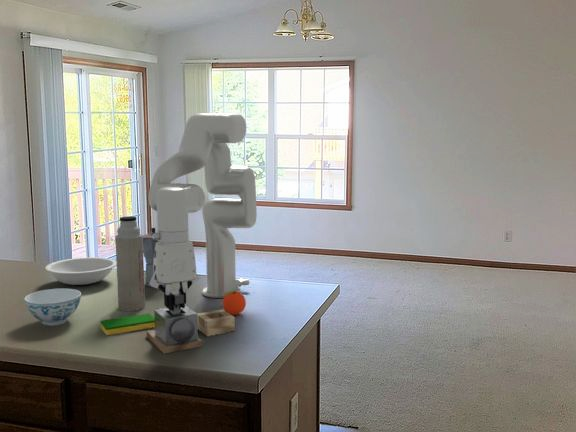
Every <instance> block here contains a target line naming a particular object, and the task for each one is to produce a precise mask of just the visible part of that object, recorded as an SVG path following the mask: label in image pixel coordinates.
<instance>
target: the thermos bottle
mask: <svg viewBox="0 0 576 432" xmlns="http://www.w3.org/2000/svg"><path fill="white" fill-rule="evenodd" d="M119 221H120V222H119V223H120V224H119V227H117V230H116V232H117V234H116V235H115V257H116V258H115V261H116V263H117V265H116V277H117V280H116V281H117V302H118V304H117V305H118V309H119V310H121V311H125V312H126V311H131V312H132V311H138V310H142V309H145V307H146V294H145V292H146V291H145V269H144V268H145V265H144V253H143V236H142V235H143V234H142V233H141V227H139V226H138V225H137V224H138V223H137V217H136V216H121V217H119Z"/></svg>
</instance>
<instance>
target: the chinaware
mask: <svg viewBox="0 0 576 432" xmlns="http://www.w3.org/2000/svg"><path fill="white" fill-rule="evenodd" d="M81 297H82V293H81V291H80V290H78V289H74V288H52V289H51V288H50V289H43V290H37V291H34V292H32V293H30V294H27V295H26V296H25V297H24V303H25V306H26V308H27V310H28V312H29V313H30V315H31V316H32V317H34V318H36V320H39V321H41V324H42V325H44V326H49V327H51V326H58V325H59V326H60V325H63V324H65V323H67V322H68V318H70V317H72V315H73V314H74V313H75V312H76V310H77V309H78V307H79V305H80V302H81V299H82V298H81Z"/></svg>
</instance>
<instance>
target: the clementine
mask: <svg viewBox="0 0 576 432" xmlns="http://www.w3.org/2000/svg"><path fill="white" fill-rule="evenodd" d="M228 292H229V293H228V294H226V293H227V292H226V293H225V294H226V295H225V294H224V296H225V297H224V298H222V308H223V310H224V311H226V312H227V313H229V314H231V315H232V316H236V315H240V314H241V313H242V312H244V310H245V308H246V305H247V302H246V301H247V300H246V297H245V296H244V295H243V294H242V293H241V292H240V293H239V292H236V291H228Z"/></svg>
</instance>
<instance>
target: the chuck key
mask: <svg viewBox="0 0 576 432" xmlns="http://www.w3.org/2000/svg"><path fill="white" fill-rule="evenodd" d="M170 292H171V295H172V300H173V309H172V310H170V315H175V314H181V304H182V303H184V295H183V294H182V293H180V292H179V291H178V289H176V288H170Z"/></svg>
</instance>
